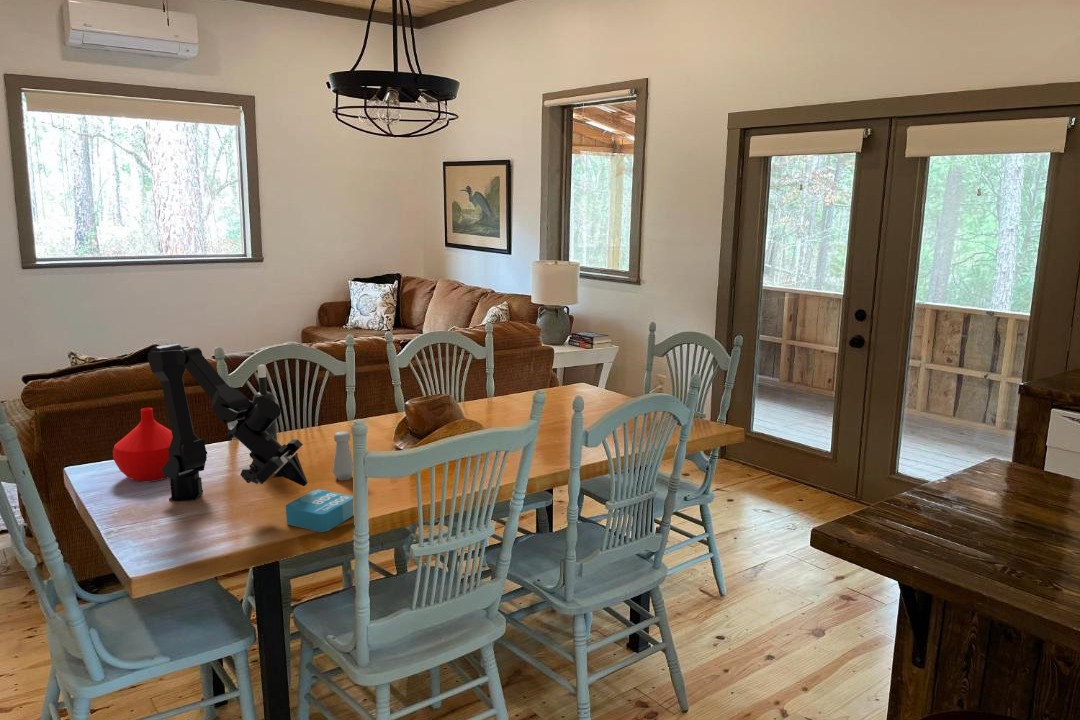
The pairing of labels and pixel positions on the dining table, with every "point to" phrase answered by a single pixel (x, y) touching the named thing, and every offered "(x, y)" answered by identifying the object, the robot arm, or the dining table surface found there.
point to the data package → (319, 510)
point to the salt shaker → (342, 456)
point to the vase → (144, 449)
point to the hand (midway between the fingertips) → (305, 484)
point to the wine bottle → (267, 395)
